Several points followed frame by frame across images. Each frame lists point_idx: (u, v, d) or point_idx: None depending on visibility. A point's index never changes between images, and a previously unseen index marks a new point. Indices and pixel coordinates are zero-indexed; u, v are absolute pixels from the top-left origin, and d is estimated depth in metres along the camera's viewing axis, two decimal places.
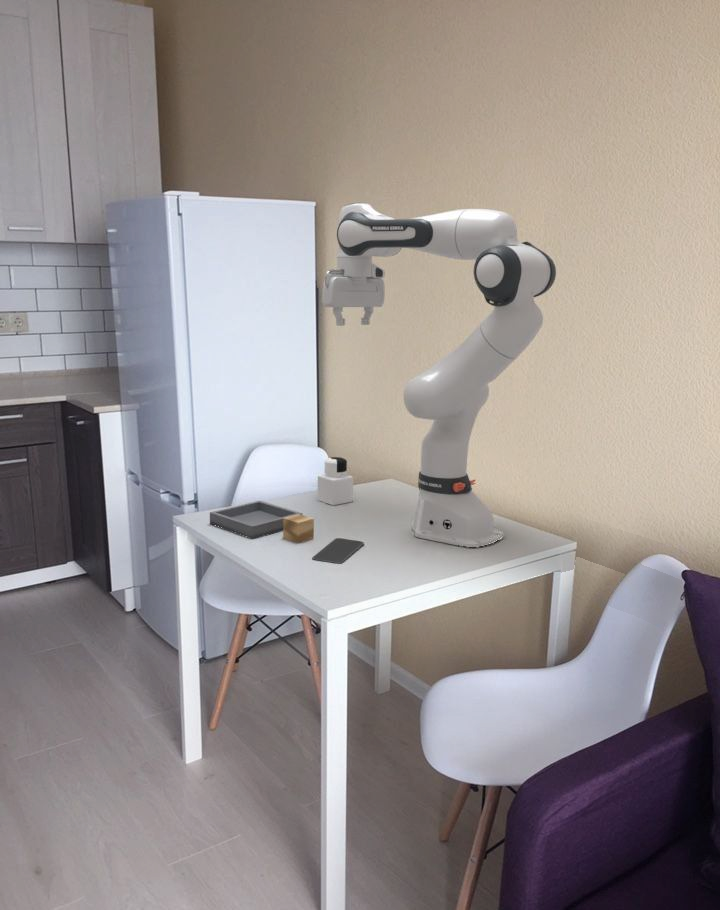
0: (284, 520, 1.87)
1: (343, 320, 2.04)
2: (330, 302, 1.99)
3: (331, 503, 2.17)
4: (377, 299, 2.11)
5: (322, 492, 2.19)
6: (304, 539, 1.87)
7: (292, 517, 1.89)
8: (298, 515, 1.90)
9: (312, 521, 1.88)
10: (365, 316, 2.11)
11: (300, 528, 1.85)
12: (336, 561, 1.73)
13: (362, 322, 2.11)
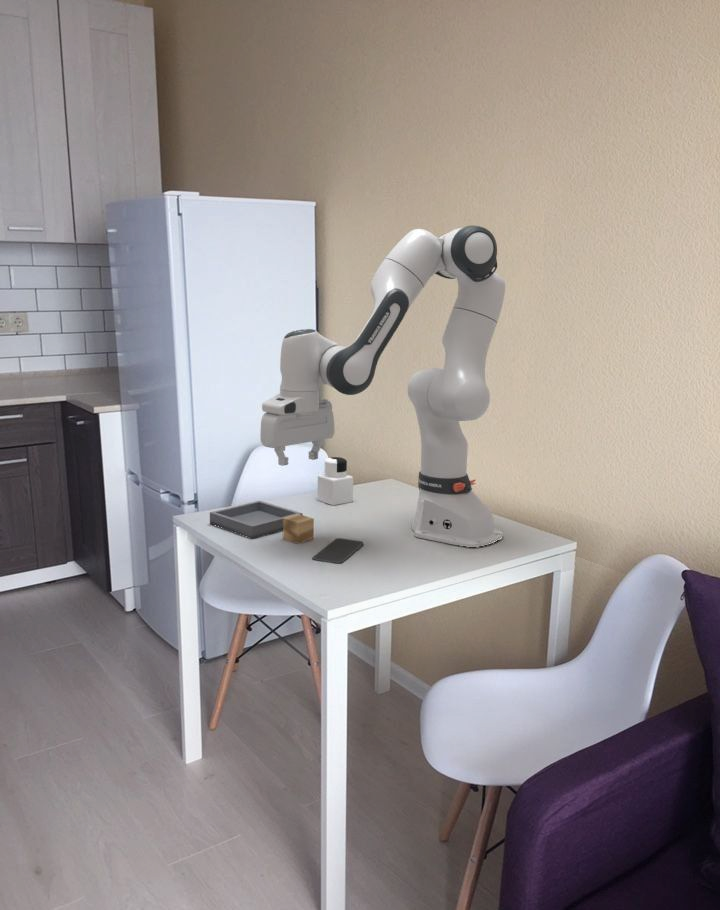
0: (284, 520, 1.87)
1: None
2: None
3: (331, 503, 2.17)
4: None
5: (323, 492, 2.19)
6: (304, 539, 1.87)
7: (292, 517, 1.89)
8: (298, 515, 1.90)
9: (312, 521, 1.88)
10: None
11: (300, 528, 1.85)
12: (336, 561, 1.73)
13: None
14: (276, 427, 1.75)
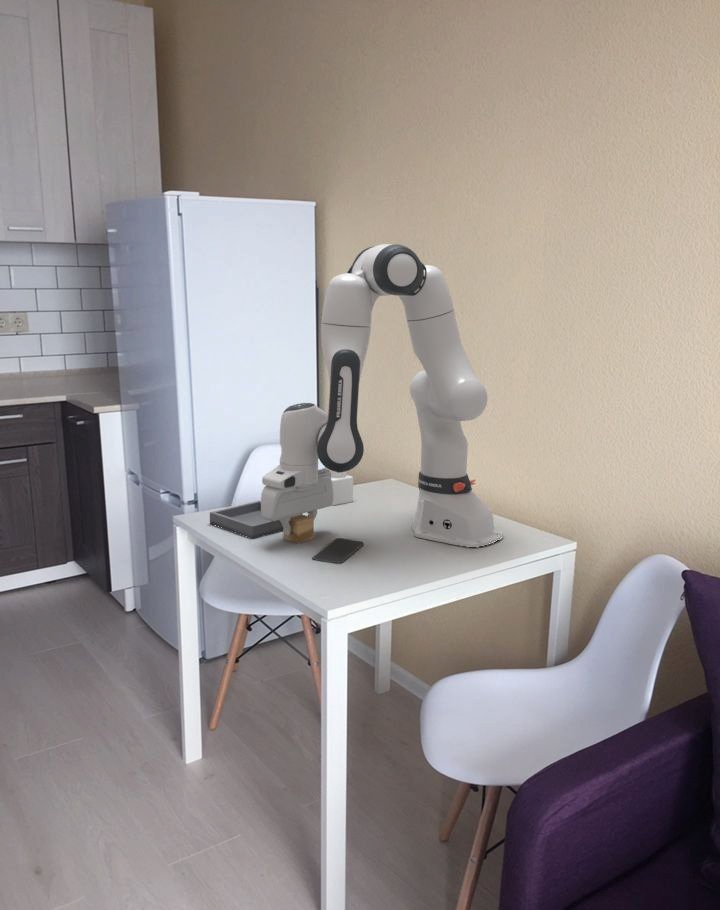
0: None
1: None
2: None
3: None
4: None
5: None
6: (304, 539, 1.87)
7: (292, 516, 1.89)
8: (298, 515, 1.90)
9: (312, 520, 1.88)
10: None
11: (300, 528, 1.85)
12: (336, 561, 1.73)
13: None
14: (276, 501, 1.78)
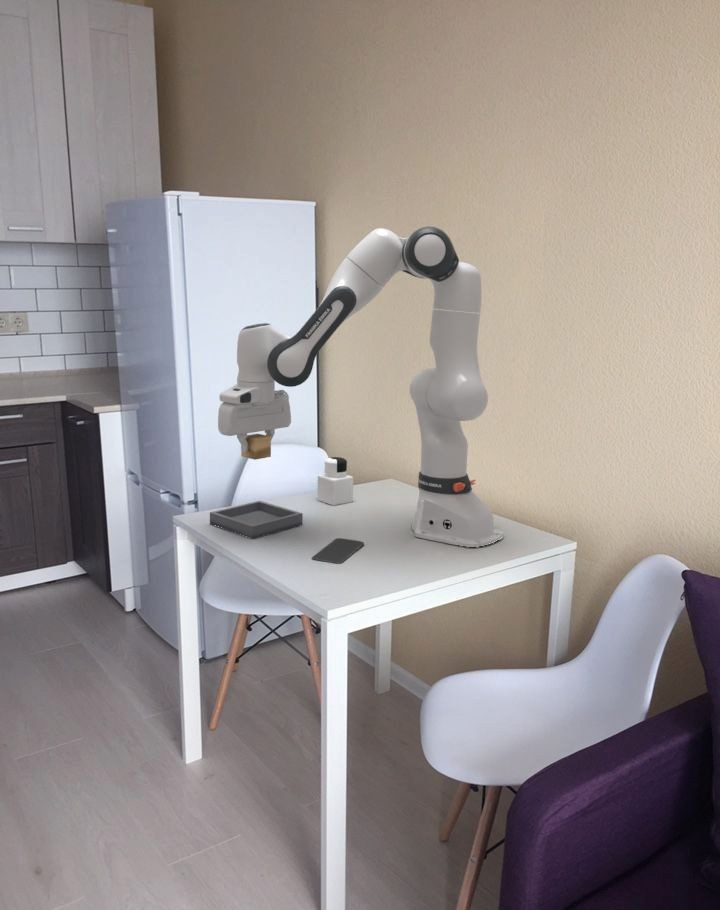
0: None
1: None
2: None
3: (331, 503, 2.17)
4: None
5: (322, 492, 2.19)
6: (261, 456, 1.93)
7: (250, 435, 1.95)
8: (256, 434, 1.96)
9: (269, 439, 1.94)
10: None
11: (256, 444, 1.91)
12: (335, 561, 1.73)
13: None
14: (232, 416, 1.84)
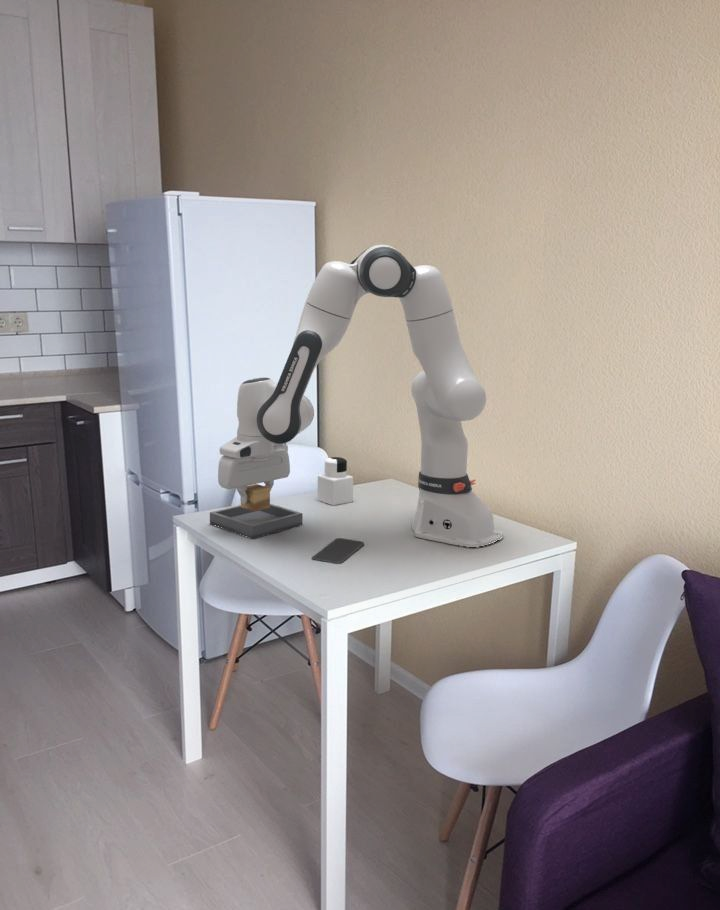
0: None
1: None
2: None
3: (331, 503, 2.17)
4: None
5: (323, 492, 2.19)
6: (260, 507, 1.95)
7: (249, 486, 1.97)
8: (255, 485, 1.99)
9: (268, 490, 1.96)
10: None
11: (256, 496, 1.94)
12: (335, 561, 1.73)
13: None
14: (232, 470, 1.87)
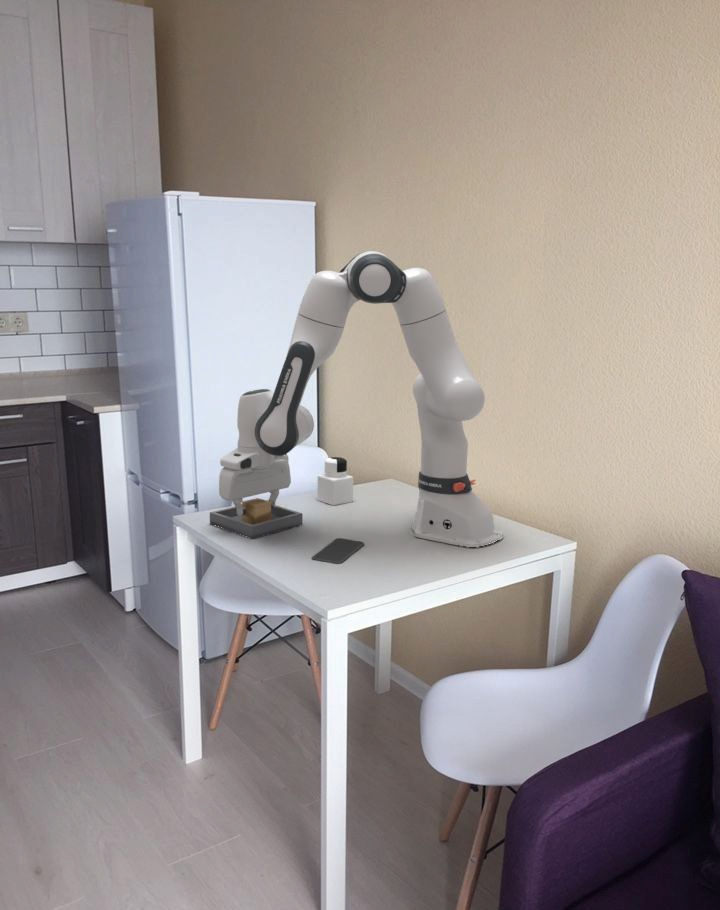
0: (242, 503, 1.97)
1: None
2: None
3: (331, 503, 2.17)
4: None
5: (323, 492, 2.19)
6: (261, 521, 1.96)
7: (250, 500, 1.98)
8: (256, 499, 2.00)
9: (269, 504, 1.97)
10: None
11: (257, 511, 1.95)
12: (335, 561, 1.73)
13: None
14: (232, 481, 1.88)
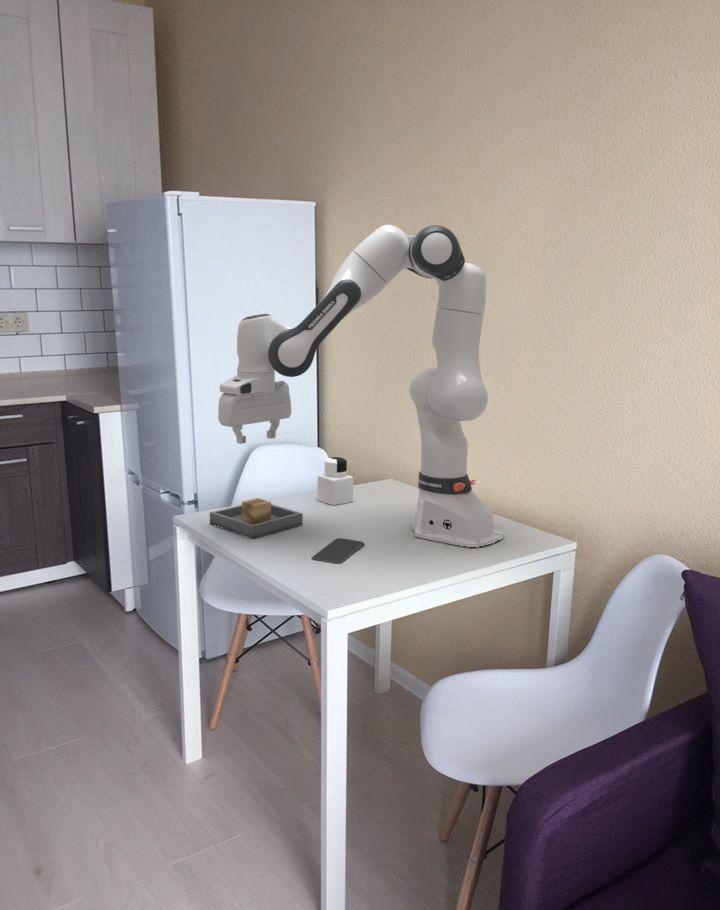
0: (242, 503, 1.97)
1: None
2: None
3: (331, 503, 2.17)
4: None
5: (323, 492, 2.19)
6: (261, 521, 1.96)
7: (250, 500, 1.98)
8: (256, 499, 2.00)
9: (269, 504, 1.97)
10: None
11: (257, 511, 1.95)
12: (335, 561, 1.73)
13: None
14: (232, 406, 1.84)
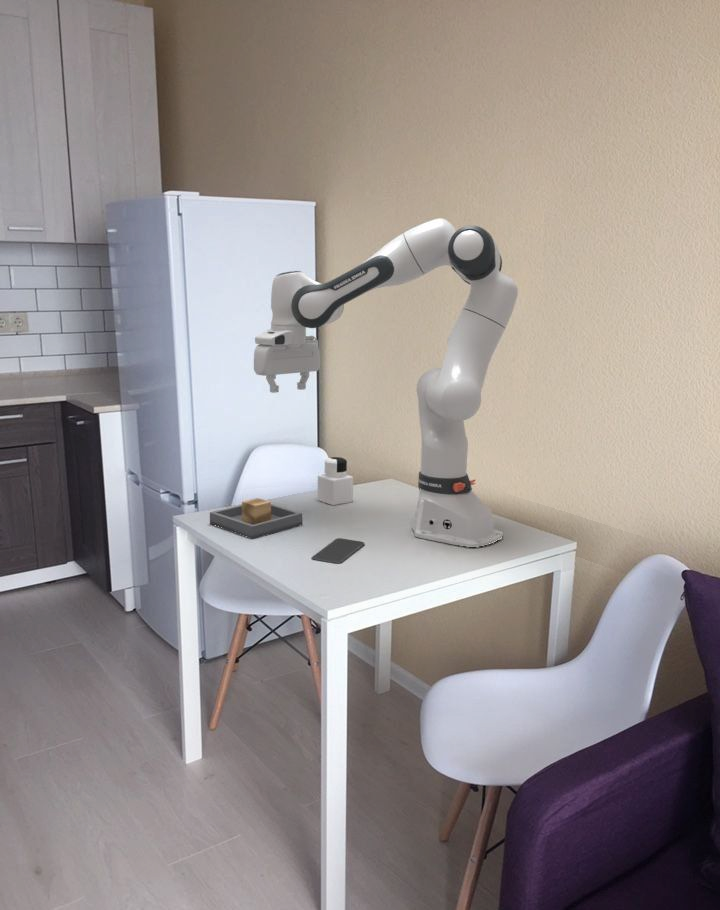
0: (242, 503, 1.97)
1: None
2: None
3: (331, 503, 2.17)
4: None
5: (323, 492, 2.19)
6: (261, 521, 1.96)
7: (250, 500, 1.98)
8: (256, 499, 2.00)
9: (269, 504, 1.97)
10: None
11: (257, 511, 1.95)
12: (335, 561, 1.73)
13: None
14: (267, 356, 1.97)
